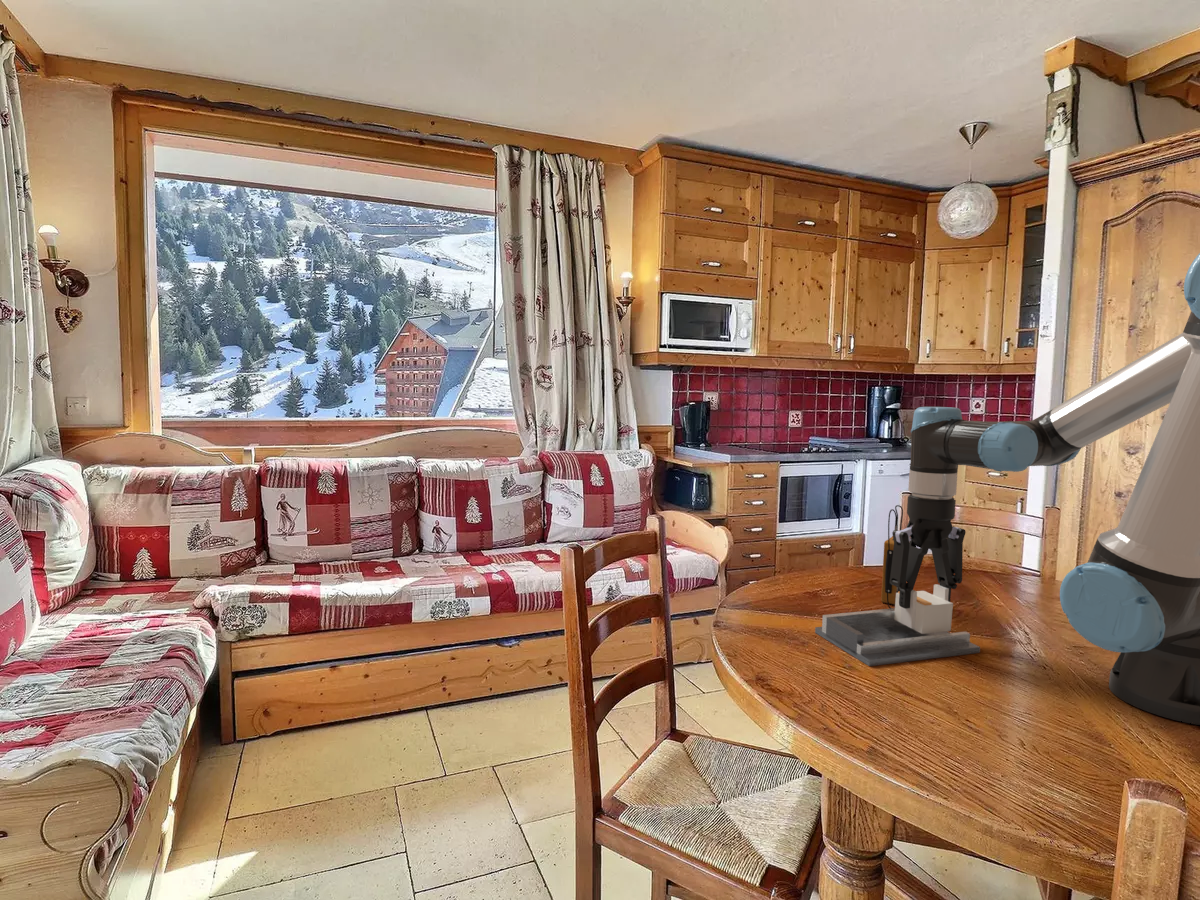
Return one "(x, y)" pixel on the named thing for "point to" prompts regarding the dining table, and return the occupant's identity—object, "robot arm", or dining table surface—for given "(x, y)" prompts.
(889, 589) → the multimeter
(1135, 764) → the dining table surface
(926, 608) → the block
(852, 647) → the rail base
